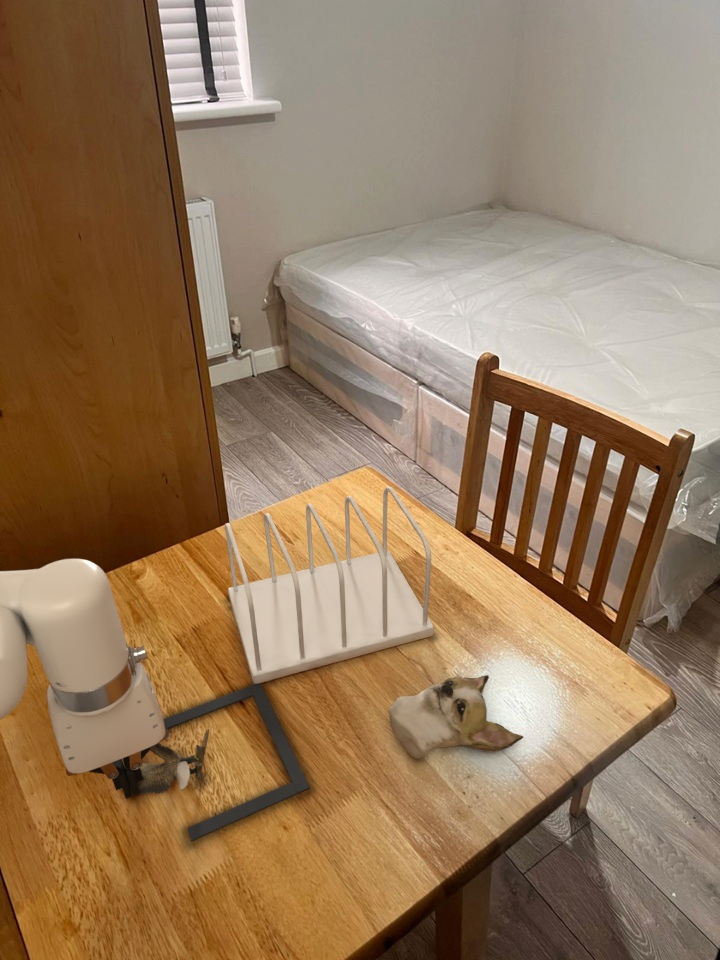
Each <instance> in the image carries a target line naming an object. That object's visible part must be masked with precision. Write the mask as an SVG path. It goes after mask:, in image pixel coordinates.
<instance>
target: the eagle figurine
mask: <svg viewBox="0 0 720 960" xmlns="http://www.w3.org/2000/svg"><path fill="white" fill-rule="evenodd" d="M209 734H210V729H209V728H207V729H206V730H205V733H204V735H203V738H202V741H201V745H199V744H196V745H195V754H191V755H189V756H182V755H180V754H178V753H177V752H176V751H175V750H174V749H172V748H171V747H169V746H167V745H162V744H161V742H160V743H158V744H156V745H153V746H152V748H151V749H150V751H149V752H152V754H154V755H155V756H157V757H158V758H160V759H162V760H164V762H159V763H146V762H142V761H141V762H142V765H141V767H140V769H141V772H142V776H143V780H141V781H139V782H138V786H139V790H140V793H139V794H137V795H135V794H134V796H140V795H146V794H153V793H154V794H158V795H159V794H163V793H164V792H167V791H168V790H169V789H170V788H171V785H172V784H173V782H174V781H175V780H177V783H178V787H179V790H181V791H182V790H184V789H185V788H187V787H188V784H189V782H190V778H191V775H194V776H195V778H197V780H199V781H201V782H203V773H202V772H203V766H204V760H205V755H206V751H207V745H208V741H209V737H210V735H209ZM191 764H193V766H194V767H193V768H191V767H190V766H189V765H191ZM129 784H130V783H129ZM130 788H131V786H130ZM131 792H132V789H131ZM132 795H133V792H132Z"/></svg>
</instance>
